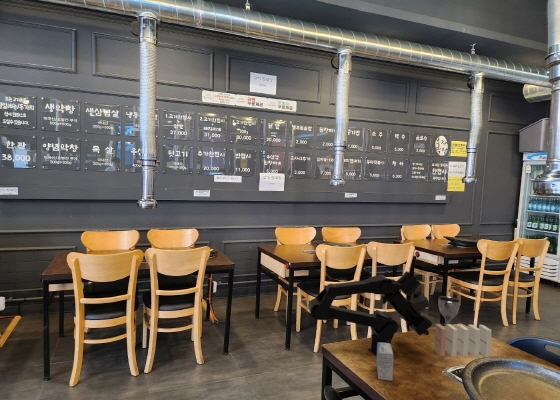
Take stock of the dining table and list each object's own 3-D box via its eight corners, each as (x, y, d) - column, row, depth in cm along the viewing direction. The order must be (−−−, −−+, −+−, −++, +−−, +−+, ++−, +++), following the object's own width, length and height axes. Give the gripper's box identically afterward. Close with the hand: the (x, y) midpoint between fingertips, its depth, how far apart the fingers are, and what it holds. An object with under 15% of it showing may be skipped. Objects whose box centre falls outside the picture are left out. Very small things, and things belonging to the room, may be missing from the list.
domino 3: (463, 356, 128) (464, 329, 128) (455, 350, 133) (457, 324, 133) (467, 357, 128) (469, 329, 128) (459, 350, 133) (461, 324, 133)
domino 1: (440, 356, 128) (442, 329, 127) (433, 350, 133) (435, 323, 132) (445, 356, 128) (446, 329, 127) (438, 350, 133) (439, 323, 132)
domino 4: (474, 357, 128) (476, 329, 128) (466, 350, 133) (468, 324, 133) (478, 357, 128) (480, 330, 128) (470, 350, 133) (472, 324, 133)
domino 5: (485, 357, 128) (487, 330, 128) (477, 351, 133) (478, 324, 133) (490, 357, 129) (491, 330, 128) (481, 351, 134) (483, 324, 133)
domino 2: (451, 356, 128) (453, 329, 127) (444, 350, 133) (446, 324, 132) (456, 356, 128) (457, 329, 128) (449, 350, 133) (450, 324, 133)
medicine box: (392, 381, 109) (393, 354, 109) (377, 379, 110) (379, 352, 110) (389, 369, 117) (391, 343, 117) (375, 367, 118) (377, 341, 118)
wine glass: (461, 339, 144) (463, 302, 143) (441, 338, 144) (443, 301, 143) (452, 331, 152) (454, 296, 151) (433, 330, 152) (435, 295, 151)
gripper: (428, 296, 120) (458, 329, 120) (405, 281, 138) (431, 310, 139) (404, 318, 119) (434, 351, 120) (384, 301, 138) (411, 329, 139)
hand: (427, 334), depth 130 cm, fingers closed
